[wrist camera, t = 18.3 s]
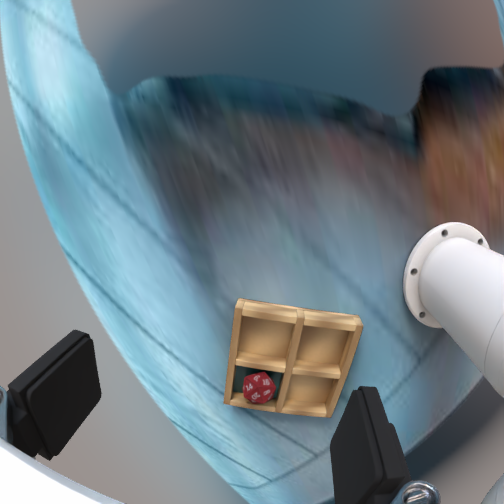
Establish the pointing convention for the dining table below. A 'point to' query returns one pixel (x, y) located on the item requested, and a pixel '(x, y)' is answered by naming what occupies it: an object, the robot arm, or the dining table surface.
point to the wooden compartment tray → (291, 356)
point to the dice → (258, 388)
